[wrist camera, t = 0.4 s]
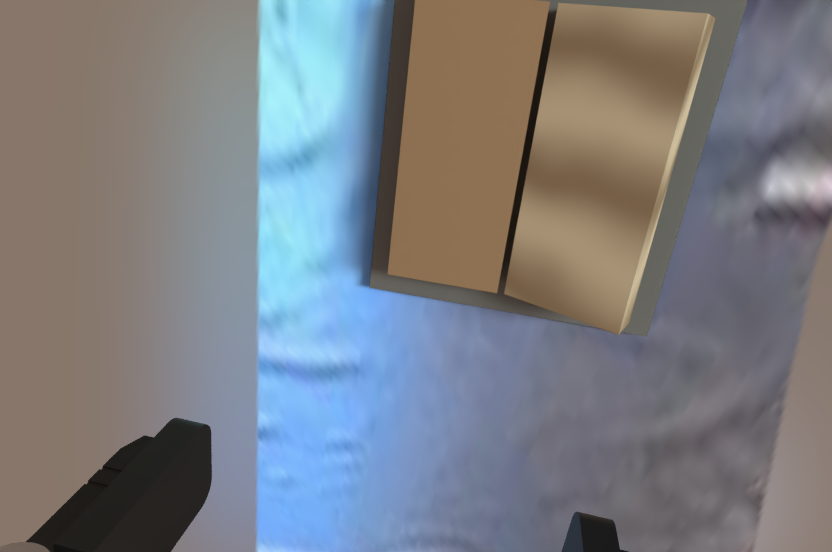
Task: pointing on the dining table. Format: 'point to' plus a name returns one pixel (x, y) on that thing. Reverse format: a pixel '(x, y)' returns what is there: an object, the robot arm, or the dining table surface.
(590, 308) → the oak plank
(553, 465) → the dining table surface
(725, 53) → the floor section
